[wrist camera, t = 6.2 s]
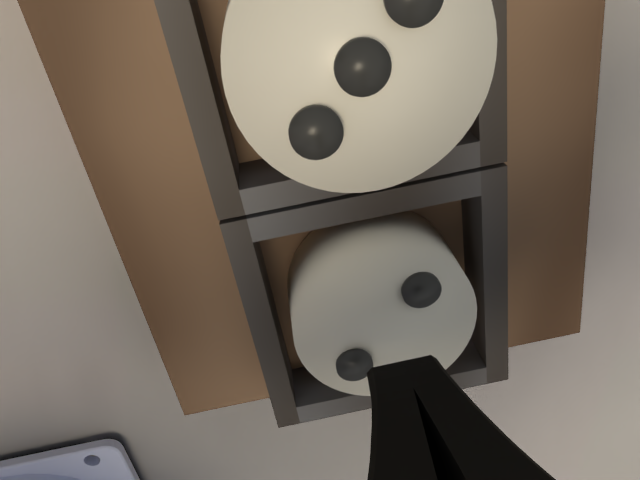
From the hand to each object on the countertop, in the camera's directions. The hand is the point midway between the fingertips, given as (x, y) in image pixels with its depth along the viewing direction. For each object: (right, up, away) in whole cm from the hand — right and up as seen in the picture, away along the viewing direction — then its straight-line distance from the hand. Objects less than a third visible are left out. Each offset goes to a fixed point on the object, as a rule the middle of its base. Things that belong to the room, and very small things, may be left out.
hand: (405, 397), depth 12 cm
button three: (-1, +7, -1) cm, 7 cm away
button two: (0, +2, +4) cm, 4 cm away
